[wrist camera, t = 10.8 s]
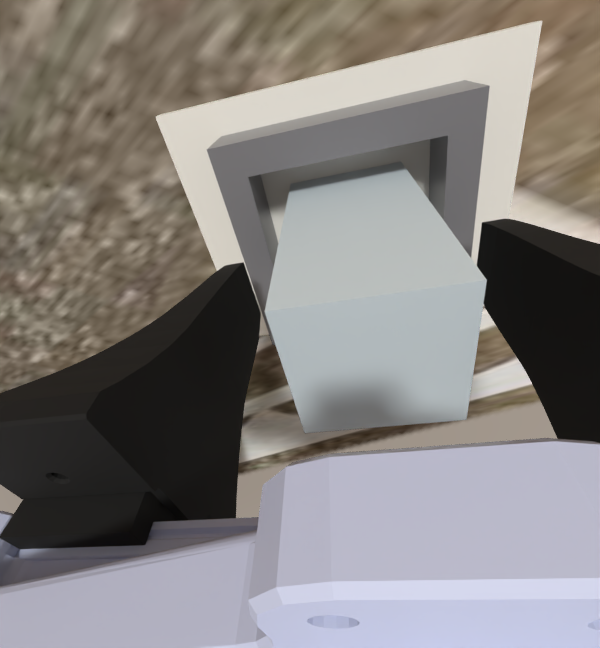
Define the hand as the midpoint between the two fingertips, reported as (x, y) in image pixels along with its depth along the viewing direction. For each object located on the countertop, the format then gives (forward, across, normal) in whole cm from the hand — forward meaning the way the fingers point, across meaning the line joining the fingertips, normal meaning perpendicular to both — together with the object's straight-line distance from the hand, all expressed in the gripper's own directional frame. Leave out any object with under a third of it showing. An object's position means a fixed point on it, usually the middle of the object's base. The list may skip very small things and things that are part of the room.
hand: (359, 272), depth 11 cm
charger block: (+4, 0, 0) cm, 4 cm away
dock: (+4, 0, 0) cm, 4 cm away
